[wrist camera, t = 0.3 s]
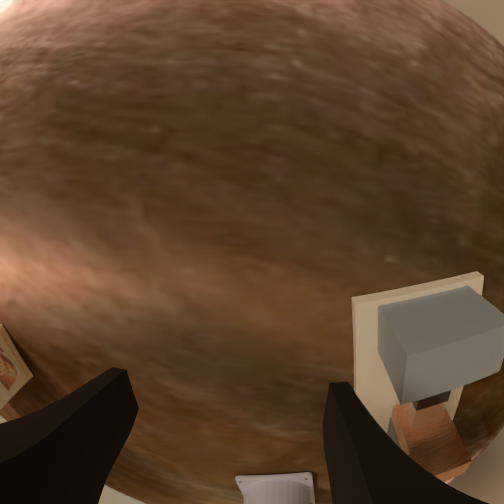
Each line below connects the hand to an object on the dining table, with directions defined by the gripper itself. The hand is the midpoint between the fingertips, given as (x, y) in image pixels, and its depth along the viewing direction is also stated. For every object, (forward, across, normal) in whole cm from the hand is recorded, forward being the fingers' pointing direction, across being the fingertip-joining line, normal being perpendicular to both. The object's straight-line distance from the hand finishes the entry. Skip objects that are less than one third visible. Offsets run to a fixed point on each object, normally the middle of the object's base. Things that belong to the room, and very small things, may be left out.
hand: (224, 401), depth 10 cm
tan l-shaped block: (+9, -13, +12) cm, 20 cm away
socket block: (+9, -12, +2) cm, 15 cm away
